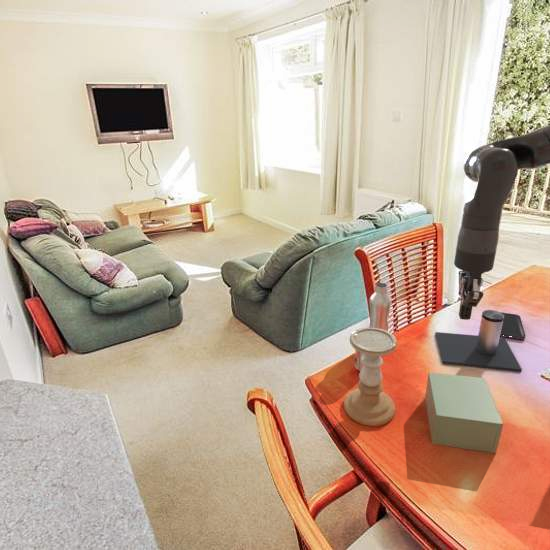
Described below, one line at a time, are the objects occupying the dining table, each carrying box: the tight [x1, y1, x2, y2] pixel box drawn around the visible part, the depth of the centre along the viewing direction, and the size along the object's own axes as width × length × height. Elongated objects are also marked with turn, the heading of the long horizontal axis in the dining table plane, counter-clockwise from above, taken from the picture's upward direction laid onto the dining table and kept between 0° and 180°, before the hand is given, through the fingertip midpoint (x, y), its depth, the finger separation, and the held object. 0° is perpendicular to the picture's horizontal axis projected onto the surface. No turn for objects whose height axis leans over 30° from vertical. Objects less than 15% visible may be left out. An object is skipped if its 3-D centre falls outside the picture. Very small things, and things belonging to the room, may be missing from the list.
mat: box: [434, 331, 523, 373], centre depth 112 cm, size 20×16×1 cm
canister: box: [476, 309, 504, 355], centre depth 108 cm, size 6×6×12 cm
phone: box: [499, 311, 526, 340], centre depth 123 cm, size 8×1×15 cm
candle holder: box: [343, 327, 398, 427], centre depth 89 cm, size 12×12×20 cm
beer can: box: [354, 349, 364, 372], centre depth 105 cm, size 5×5×12 cm
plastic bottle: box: [368, 282, 392, 332], centre depth 115 cm, size 6×7×20 cm
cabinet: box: [424, 371, 504, 454], centre depth 85 cm, size 15×13×8 cm
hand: (464, 317), depth 86 cm, fingers closed
